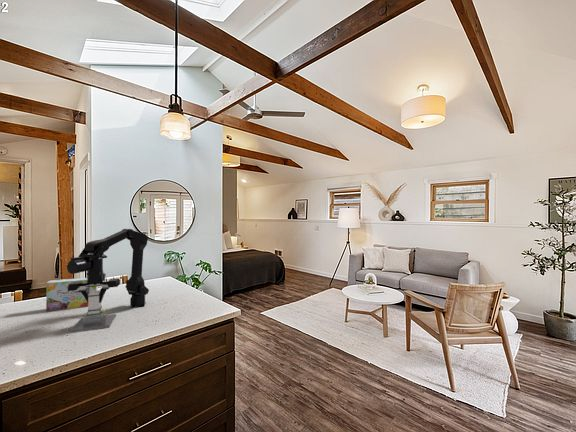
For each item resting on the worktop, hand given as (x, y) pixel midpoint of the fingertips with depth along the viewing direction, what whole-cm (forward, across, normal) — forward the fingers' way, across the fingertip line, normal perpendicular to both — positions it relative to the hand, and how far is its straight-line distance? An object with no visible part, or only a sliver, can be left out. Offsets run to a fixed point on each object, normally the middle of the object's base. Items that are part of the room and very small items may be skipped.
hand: (95, 303), depth 120 cm
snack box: (+10, +17, -30) cm, 36 cm away
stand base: (+10, 0, 0) cm, 10 cm away
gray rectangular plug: (+5, 0, 0) cm, 5 cm away
